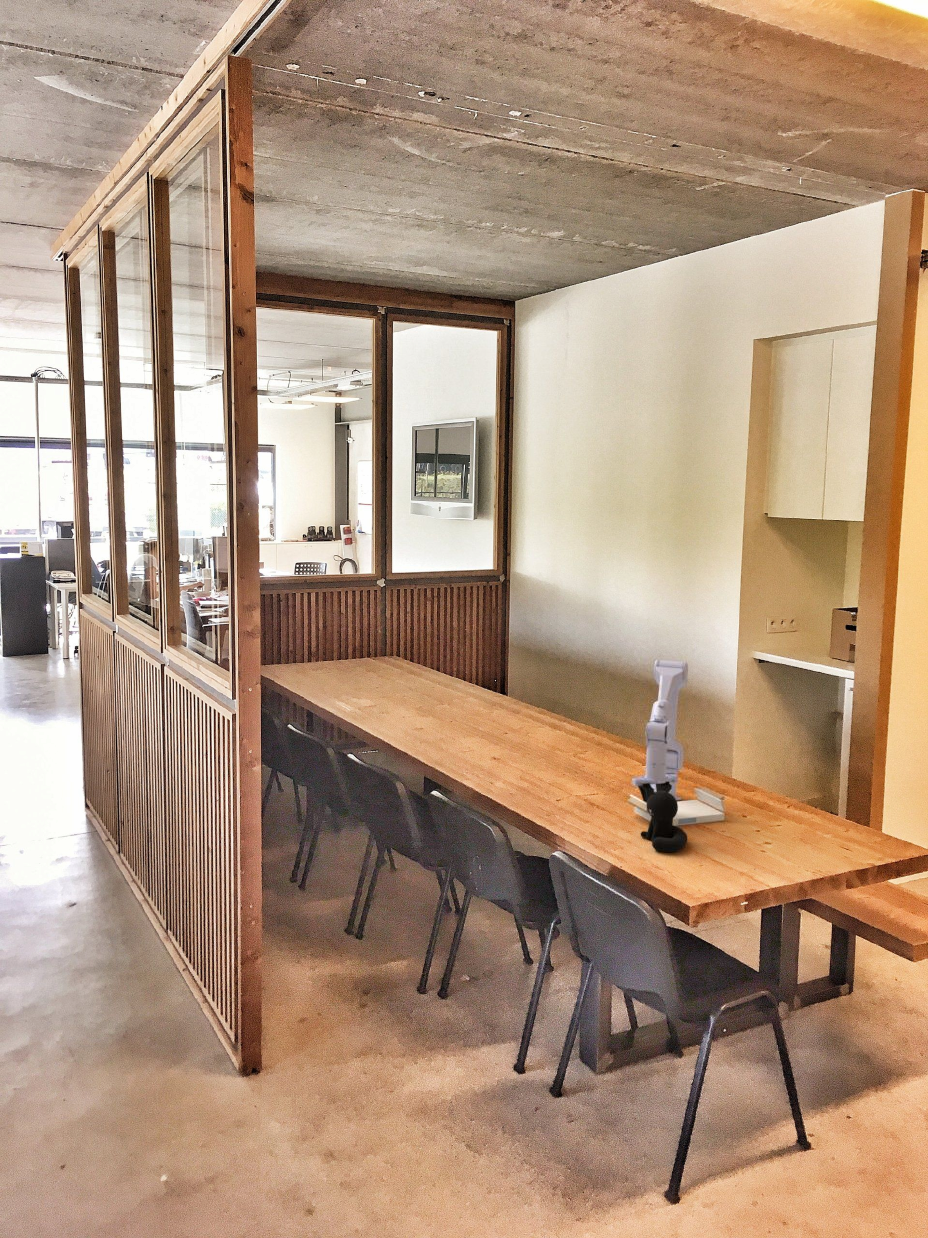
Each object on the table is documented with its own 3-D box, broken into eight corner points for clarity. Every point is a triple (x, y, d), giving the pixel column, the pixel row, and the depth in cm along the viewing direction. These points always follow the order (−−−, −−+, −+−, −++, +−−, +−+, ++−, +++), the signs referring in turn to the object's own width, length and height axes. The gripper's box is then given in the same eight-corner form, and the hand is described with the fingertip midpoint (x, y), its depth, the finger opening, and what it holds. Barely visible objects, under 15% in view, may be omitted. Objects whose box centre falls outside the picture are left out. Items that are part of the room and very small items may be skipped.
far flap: (723, 811, 298) (729, 808, 299) (720, 801, 297) (726, 797, 298) (697, 798, 310) (703, 795, 311) (694, 788, 309) (700, 785, 310)
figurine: (626, 837, 281) (629, 785, 279) (666, 831, 287) (669, 780, 285) (662, 857, 266) (665, 801, 265) (703, 850, 273) (707, 796, 271)
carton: (634, 812, 303) (634, 806, 302) (696, 806, 311) (696, 799, 311) (660, 827, 290) (661, 820, 290) (724, 820, 298) (724, 814, 298)
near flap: (635, 804, 302) (628, 808, 301) (631, 794, 301) (624, 798, 300) (659, 817, 290) (653, 822, 289) (655, 807, 289) (648, 812, 288)
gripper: (642, 768, 288) (639, 814, 290) (685, 764, 294) (682, 809, 296) (628, 761, 295) (626, 807, 296) (671, 758, 300) (668, 802, 302)
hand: (653, 808), depth 296 cm, fingers open, 4 cm apart
